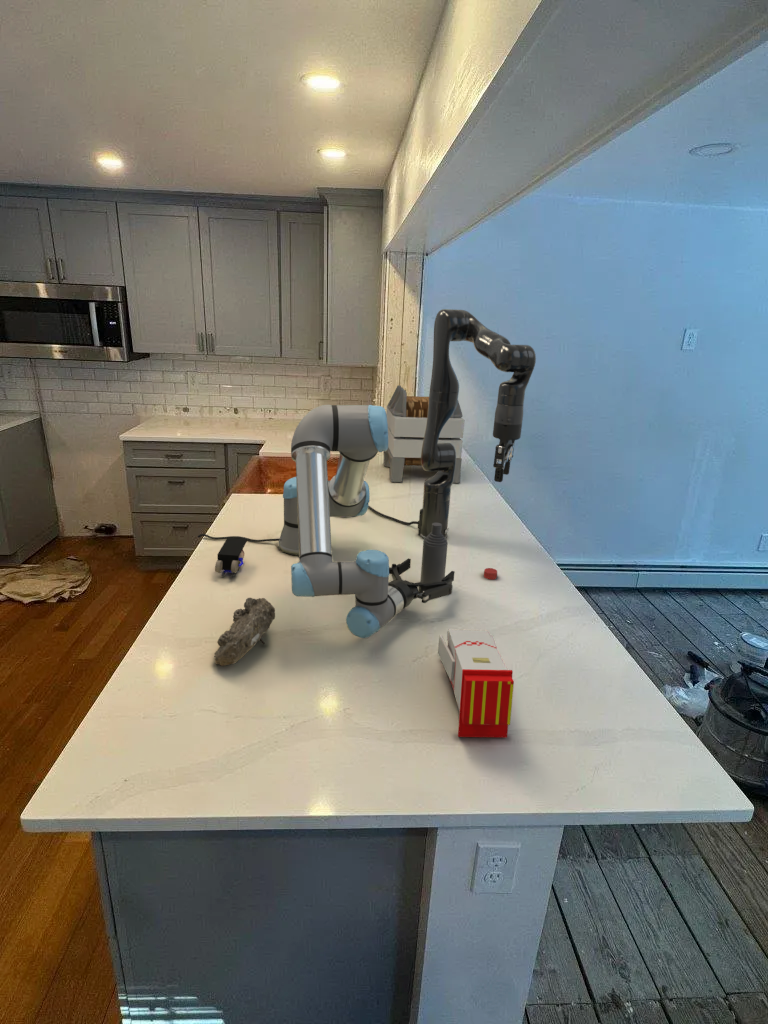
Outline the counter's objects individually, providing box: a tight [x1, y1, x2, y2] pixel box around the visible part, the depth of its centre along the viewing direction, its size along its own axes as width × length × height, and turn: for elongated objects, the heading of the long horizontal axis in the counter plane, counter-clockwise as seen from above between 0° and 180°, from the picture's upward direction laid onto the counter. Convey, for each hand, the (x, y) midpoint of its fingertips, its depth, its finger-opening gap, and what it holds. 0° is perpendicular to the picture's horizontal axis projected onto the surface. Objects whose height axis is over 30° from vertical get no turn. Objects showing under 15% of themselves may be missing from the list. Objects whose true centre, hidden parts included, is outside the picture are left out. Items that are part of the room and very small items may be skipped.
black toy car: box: [214, 538, 248, 578], centre depth 166 cm, size 7×8×15 cm
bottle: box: [420, 523, 449, 584], centre depth 159 cm, size 7×7×19 cm
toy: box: [437, 628, 515, 738], centre depth 117 cm, size 12×13×30 cm
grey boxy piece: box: [383, 384, 465, 484], centre depth 268 cm, size 34×33×41 cm
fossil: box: [214, 597, 276, 667], centre depth 130 cm, size 22×10×15 cm
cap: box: [483, 567, 498, 581], centre depth 170 cm, size 4×4×2 cm
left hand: (430, 569), depth 158 cm, fingers open, 13 cm apart
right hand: (501, 477), depth 160 cm, fingers open, 8 cm apart
